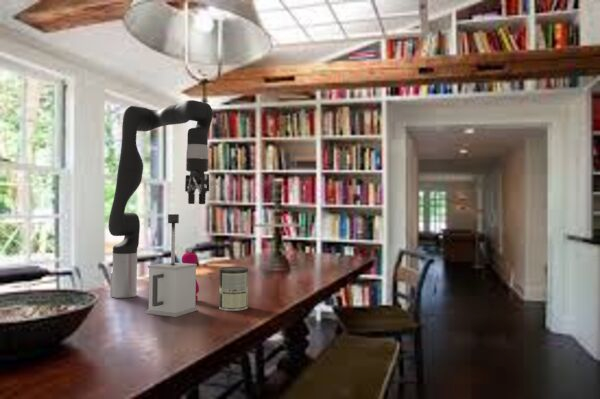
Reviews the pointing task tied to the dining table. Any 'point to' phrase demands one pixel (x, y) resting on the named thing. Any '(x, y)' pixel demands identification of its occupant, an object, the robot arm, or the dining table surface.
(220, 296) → the coffee can
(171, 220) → the grey thin rod
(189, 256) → the pepper mill
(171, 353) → the dining table surface
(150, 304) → the white cabinet
